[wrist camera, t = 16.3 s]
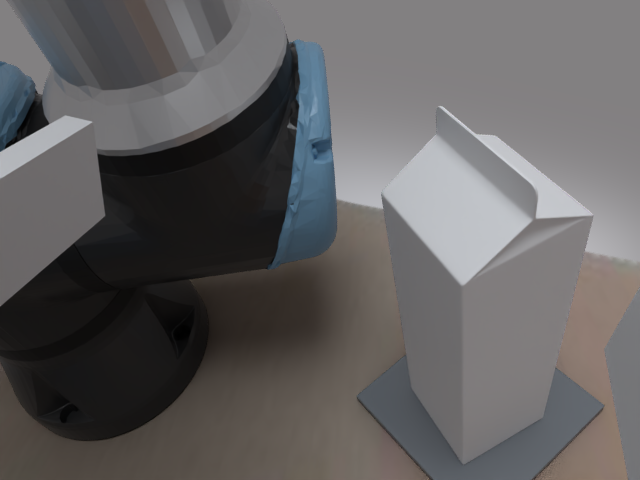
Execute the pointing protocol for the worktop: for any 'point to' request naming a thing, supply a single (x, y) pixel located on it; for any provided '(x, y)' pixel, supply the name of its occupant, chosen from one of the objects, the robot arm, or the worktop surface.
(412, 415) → the coaster
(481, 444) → the milk
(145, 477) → the worktop surface
